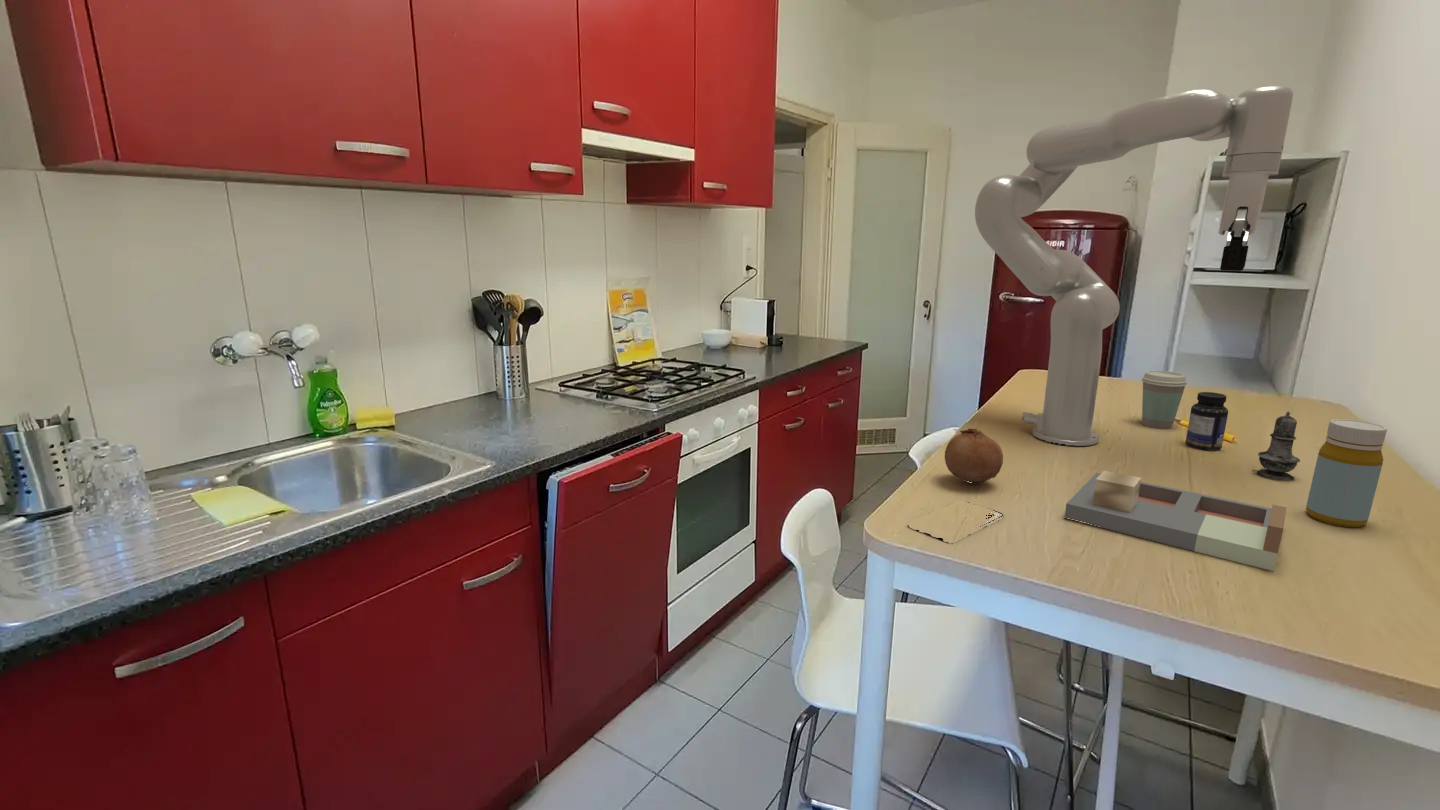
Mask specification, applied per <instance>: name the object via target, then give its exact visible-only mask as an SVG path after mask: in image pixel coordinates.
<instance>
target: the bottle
mask: <svg viewBox="0 0 1440 810" xmlns="http://www.w3.org/2000/svg"><path fill="white" fill-rule="evenodd" d="M1387 431H1388V430H1387V427H1386V426H1384V425H1381V424H1377V423H1376V422H1375V423H1373V422H1369V421H1365V420H1358V419H1357V420H1356V419H1348V418H1347V419H1346V418H1336V419H1331V420H1330V421H1329V423H1328V427H1327V433H1326V434H1327V435H1326V438H1325V441H1324V443H1323V444H1322V446H1321V447H1320V448H1319V450H1318V454H1317V457H1316V463H1315V467H1314V470H1313V475H1312V480H1311V485H1310V489H1309V493H1308V496H1307V501H1306V507H1305V510H1306V512H1307V513H1308V515H1309V516H1310V517H1311V518H1313V519H1315V520H1317V521H1319V522H1322V523H1325V524H1327V525H1332V526H1338V527H1343V528H1344V527H1345V528H1359V527H1362V526H1363V525H1365V524H1367V523H1368V521H1369V519H1370V514H1371V510H1372V506H1373V502H1374V499H1375V495H1376V491H1377V487H1378V484H1379V479H1380V476H1381V471H1382V467H1383V464H1384V463H1383V462H1384V456H1383V453H1382V450H1383V447H1384V443H1385V440H1386V435H1387Z"/></svg>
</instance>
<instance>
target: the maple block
mask: <svg viewBox="0 0 1440 810" xmlns="http://www.w3.org/2000/svg"><path fill="white" fill-rule="evenodd" d="M1140 482H1142V477H1138V476H1134V475H1129V474H1128V475H1127V474H1123V473H1118V472H1114V471H1108V470H1103V471H1102V472H1101V474H1100V475H1099V477H1098V478H1097V479H1096V483H1095V490H1094V497H1093V504H1096V505H1100V506H1104V507H1109V508H1113V509H1117V510H1121V511H1126V512H1131V511H1132V509H1133V508H1134V506H1135V505H1136V504H1137V501H1138V495H1139V488H1140Z"/></svg>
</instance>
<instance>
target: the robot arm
mask: <svg viewBox="0 0 1440 810" xmlns="http://www.w3.org/2000/svg"><path fill="white" fill-rule="evenodd" d="M1293 96H1294V92H1293V90H1292V89H1291V88H1290V87H1289V86H1286V85H1268V86H1267V85H1266V86H1259V87H1255V88H1250V89H1246V90H1244V91H1243V92H1241V93H1240V94H1239V95H1225V94H1223V93H1222V92H1220V91H1218V90H1216V89H1213V88H1212V89H1211V88H1197V89H1193V90H1192V89H1190V90H1186V91H1183V92H1181V91H1180V92H1177V93H1173V94H1169V95H1166V96H1162V97H1161V96H1160V97H1157V98H1153V99H1149V100H1145V101H1143V102H1139V103H1137V104H1133V105H1130V106H1128V107H1125V108H1124V107H1123V108H1122V109H1119V110H1116V111H1112V112H1108V113H1105V114H1101V115H1097V116H1093V117H1089V118H1084V119H1083V118H1082V119H1080V120H1075V121H1071V122H1066V123H1062V124H1058V125H1054V126H1049V127H1046V128H1043V129H1041V130H1039V131H1037V132H1035V133H1034V134H1033V135H1032V137H1031V138H1030V139H1029V141H1028V143H1027V146H1026V158H1027V161H1028V163H1029V164H1028V166H1027V167H1026V168H1025V169H1024V170H1023V171H1022V172H1021V173H1020V174H1019V175H1013V174H1004V175H999V176H995V177H993V178H991V179H989V180H988V181H987V182H986V183H985V184H984V185H983V186H982V188H981V190H980V191H979V194H978V195H977V198H976V202H975V206H974V219H975V220H974V221H975V223H976V228H977V229H978V232H979V234H980V235H981V237H982V238H983V240H984V242H986V244H987V245H988V246H989V247H990V249H992V250H993V251H994V252H995V254H996V255H997V256H998V257H999V259H1001V260H1002V262H1003V263H1004V264H1005V265H1006V267H1007V268H1008V269H1010V271H1011V272H1012V273H1013V274H1014V275H1015V276H1016V278H1018V280H1019V281H1020V282H1021V283H1022V285H1024V287H1025V288H1026V289H1027V290H1028V291H1029V292H1030V293H1032V294H1034V295H1036V296H1040V297H1049V296H1051V298H1052V299H1054V300H1055V303H1054V306H1053V307H1052V311H1051V315H1050V347H1049V358H1048V366H1047V367H1048V369H1047V377H1046V384H1045V385H1046V386H1045V392H1044V400H1043V401H1044V402H1043V410H1042V413H1037V414H1035V413H1032V412H1025V411H1023V412H1022V415H1021V421H1023V422H1024V423H1027V424H1032V425H1035V427H1033V429H1032V435H1033V437H1034V438H1036V437H1037V438H1036V439H1038V438H1039V440H1041V439H1042V440H1041V441H1043V440H1045V441H1044V442H1048V443H1051V442H1053V443H1052V444H1055V443H1058V444H1057V445H1061V444H1065V445H1064V446H1070V445H1074V446H1075V447H1086V446H1087V447H1088V446H1093V445H1096V444H1097V443H1099V441H1100V436H1099V434H1098V433H1096V432H1094V431H1092V429H1093V421H1094V414H1095V407H1096V406H1095V405H1096V399H1097V393H1098V386H1099V378H1100V377H1099V376H1100V371H1101V363H1102V355H1103V330H1104V329H1106V328H1108V327H1109V326H1111V325H1112V324H1113V323H1114V322H1115V321H1116V320H1117V318H1118V316H1119V315H1120V314H1119V313H1120V309H1121V308H1120V301H1119V299H1118V296H1117V294H1116V293H1115V291H1113V289H1111V287H1109V286H1108V285H1107V284H1106V282H1105V281H1104V280H1103V279H1102V278H1101V277H1100V276H1099V275H1098V274H1097V273H1096V272H1095V271H1094V270H1093V269H1092V268H1091V267H1090V266H1089V265H1088V264H1087V263H1086V262H1085V261H1084V260H1083V259H1082V258H1081V257H1080V256H1079V255H1077V254H1075V253H1074V252H1071V251H1070V250H1069V251H1068V250H1065V249H1055V248H1053V247H1052V246H1051V245H1050V244H1049V243H1048V242H1047V241H1045V240H1044V239H1043V238H1042V237H1041V235H1040V234H1039V233H1038V232H1037V231H1036V230H1035V229H1034V228H1033V227H1032V226H1031V225H1029V224H1028V223H1027V222H1026V221H1025V220H1024V219H1022V218H1024V217H1027V216H1030V215H1032V214H1034V213H1036V212H1037V211H1038V210H1039V209H1040V208H1042V206H1043V205H1044V204H1045V203H1046V202H1047V201H1048V200H1049V199H1050V198H1051V197H1052V196H1053V194H1055V192H1056V191H1058V190H1059V188H1060V187H1061V186H1062V185H1063V184H1064V183H1065V182H1066V181H1067V179H1068V178H1070V177H1071V175H1072V174H1074V172H1075V170H1077V168H1078V167H1079V166H1084V165H1089V164H1090V165H1091V164H1096V163H1101V162H1102V163H1103V162H1108V161H1113V160H1117V159H1119V158H1122V157H1124V156H1125V155H1127V154H1128V153H1130V152H1132V151H1134V150H1136V149H1139V148H1141V147H1145V146H1149V145H1154V144H1158V143H1164V142H1168V141H1174V140H1179V139H1185V138H1190V139H1192V140H1194V141H1196V142H1211V141H1215V140H1216V141H1217V140H1221V139H1225V138H1228V142H1227V144H1228V145H1227V148H1226V153H1225V160H1224V161H1225V162H1224V166H1223V172H1222V177H1221V178H1229V179H1228V184H1227V187H1226V191H1225V196H1224V200H1223V201H1224V202H1223V207H1222V212H1221V219H1220V224H1219V229H1218V234H1219V235H1220V236H1224V235H1225V233H1226V232H1228V233H1227V238H1226V244H1225V246H1223V251H1222V257H1221V261H1220V267H1219V269H1220V271H1222V272H1223V271H1224V272H1226V271H1230V272H1242V271H1244V269H1245V267H1246V262H1247V257H1248V253H1249V251H1248V250H1249V245H1248V242H1249V238H1250V237H1249V236H1250V235H1252V234H1254V233H1255V232H1256V228H1257V226H1258V223H1259V220H1260V216H1261V213H1262V208H1263V204H1264V201H1265V200H1264V199H1265V196H1266V190H1267V186H1268V185H1267V184H1268V180H1269V176H1270V177H1271V176H1278V175H1279V171H1280V165H1281V161H1282V156H1283V155H1282V154H1283V150H1284V146H1285V145H1284V144H1285V140H1286V135H1287V130H1288V123H1289V119H1290V116H1291V115H1290V113H1291V110H1292V104H1293V99H1294V97H1293ZM1074 446H1073V447H1074Z"/></svg>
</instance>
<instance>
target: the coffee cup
mask: <svg viewBox="0 0 1440 810" xmlns="http://www.w3.org/2000/svg"><path fill="white" fill-rule="evenodd" d="M1186 377H1187V376H1186V374H1184V373H1180V372H1174V371H1167V370H1147V371H1145V374H1144V375H1143V376H1142V379H1141V382H1142V400H1141V401H1142V404H1141V405H1142V406H1141V407H1142V408H1141V409H1142V412H1141V424H1142V425H1143V426H1146V427H1148V428H1150V429H1151V428H1152V429H1157V430H1158V429H1159V430H1168V429H1172V428H1173V426H1174V423H1175V419H1176V416H1177V413H1178V409H1179V406H1180V403H1181V400H1182V398H1183V397H1182V396H1183V395H1184V391H1185V388H1186V386H1188V383H1187V382H1188V381H1187V378H1186Z"/></svg>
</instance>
